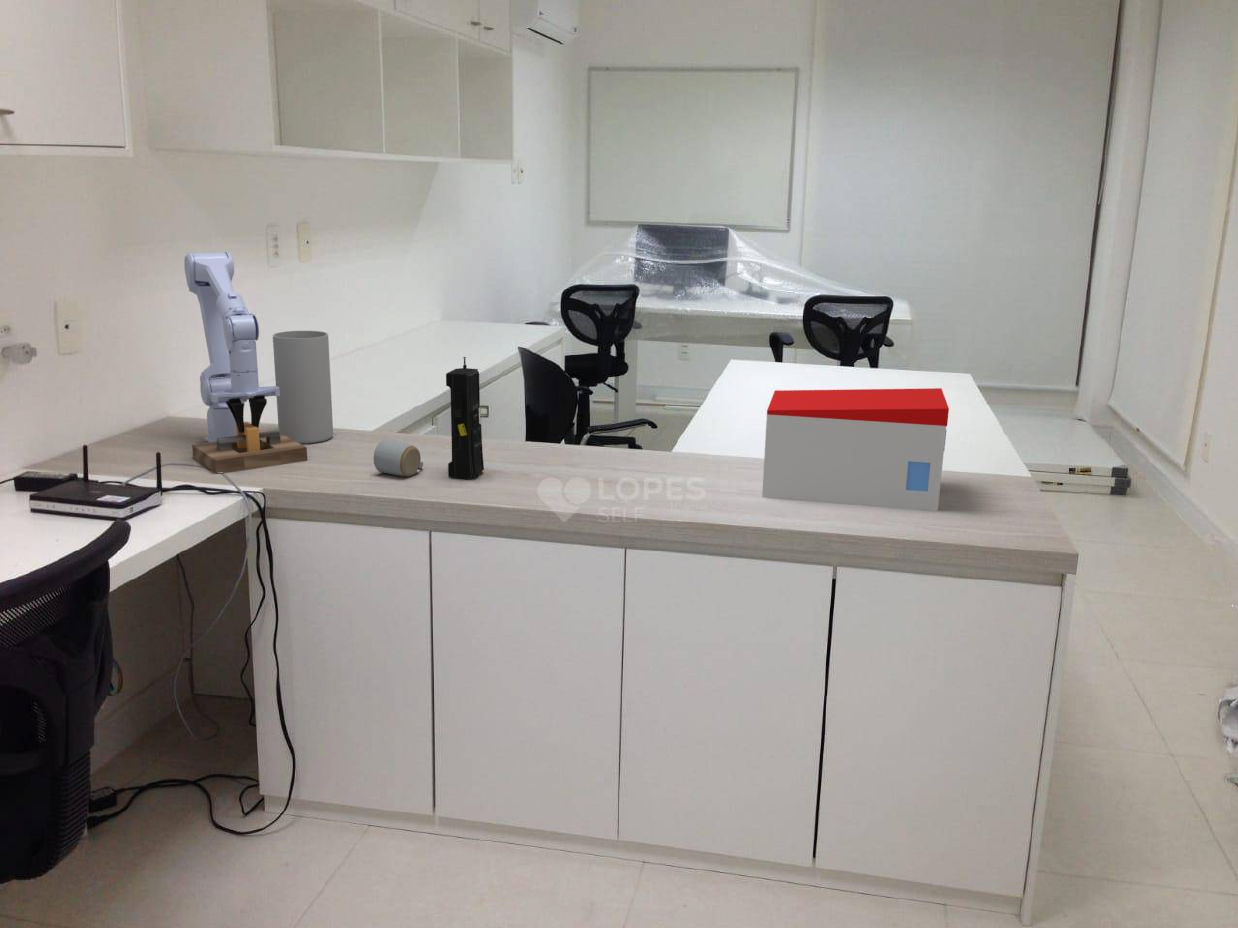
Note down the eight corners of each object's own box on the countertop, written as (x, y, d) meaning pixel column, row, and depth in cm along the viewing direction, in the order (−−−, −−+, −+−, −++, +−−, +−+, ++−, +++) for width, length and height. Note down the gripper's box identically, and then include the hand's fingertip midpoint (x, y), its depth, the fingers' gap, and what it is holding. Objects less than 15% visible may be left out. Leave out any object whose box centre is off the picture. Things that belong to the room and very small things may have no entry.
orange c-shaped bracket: (237, 447, 246) (235, 423, 245) (248, 445, 247) (246, 422, 246) (249, 454, 240) (247, 429, 239) (260, 452, 242) (258, 428, 240)
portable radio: (473, 481, 230) (471, 364, 224) (446, 479, 231) (443, 362, 225) (485, 471, 238) (483, 357, 231) (458, 469, 239) (456, 356, 232)
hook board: (193, 457, 244) (190, 433, 243) (280, 445, 256) (279, 422, 255) (216, 474, 232) (214, 448, 231) (307, 460, 244) (306, 436, 242)
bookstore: (939, 511, 217) (950, 408, 211) (762, 497, 224) (767, 397, 218) (933, 483, 236) (942, 388, 231) (770, 471, 243) (775, 378, 238)
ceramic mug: (402, 480, 230) (402, 446, 228) (373, 475, 233) (372, 441, 231) (432, 470, 239) (431, 437, 237) (403, 465, 242) (402, 432, 240)
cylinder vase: (268, 441, 260) (261, 336, 253) (302, 430, 271) (296, 329, 264) (311, 447, 255) (305, 340, 249) (343, 435, 266) (339, 333, 260)
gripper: (216, 376, 231) (221, 438, 235) (283, 370, 240) (287, 430, 244) (205, 371, 237) (210, 432, 240) (271, 365, 245) (275, 424, 249)
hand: (248, 431), depth 242 cm, fingers closed on orange c-shaped bracket, 2 cm apart
